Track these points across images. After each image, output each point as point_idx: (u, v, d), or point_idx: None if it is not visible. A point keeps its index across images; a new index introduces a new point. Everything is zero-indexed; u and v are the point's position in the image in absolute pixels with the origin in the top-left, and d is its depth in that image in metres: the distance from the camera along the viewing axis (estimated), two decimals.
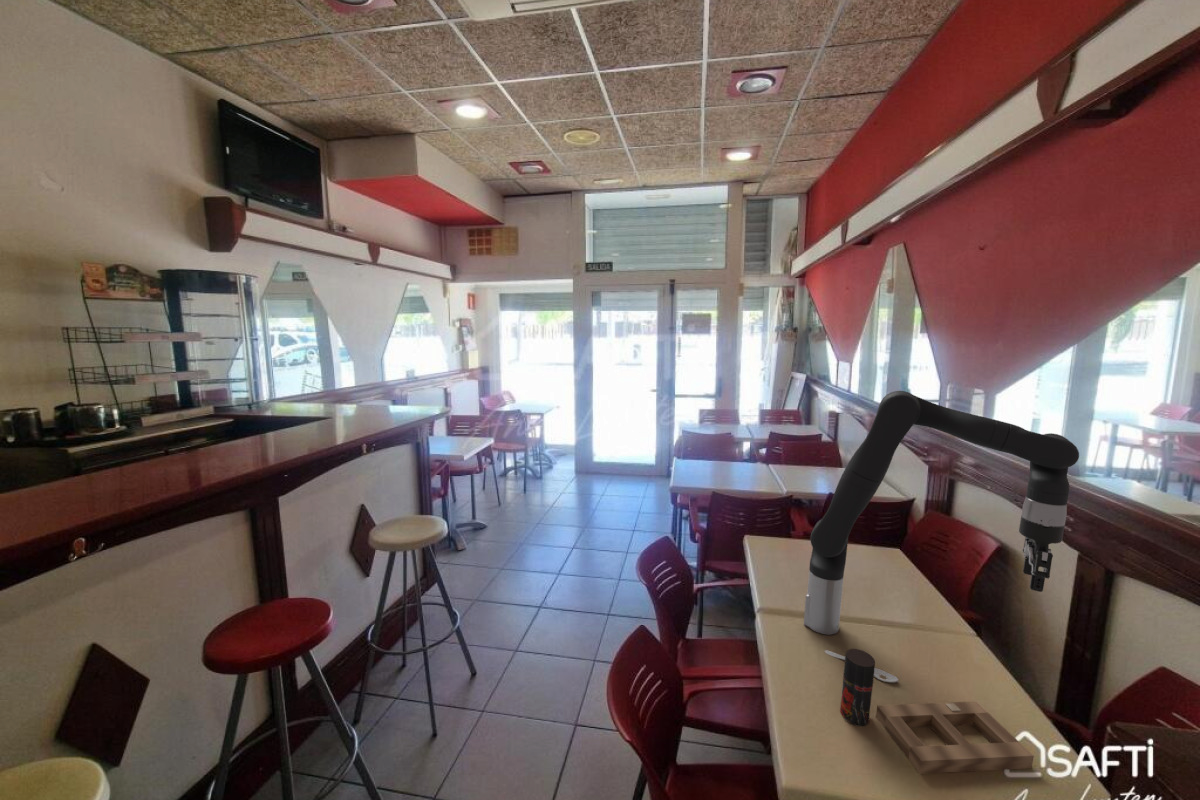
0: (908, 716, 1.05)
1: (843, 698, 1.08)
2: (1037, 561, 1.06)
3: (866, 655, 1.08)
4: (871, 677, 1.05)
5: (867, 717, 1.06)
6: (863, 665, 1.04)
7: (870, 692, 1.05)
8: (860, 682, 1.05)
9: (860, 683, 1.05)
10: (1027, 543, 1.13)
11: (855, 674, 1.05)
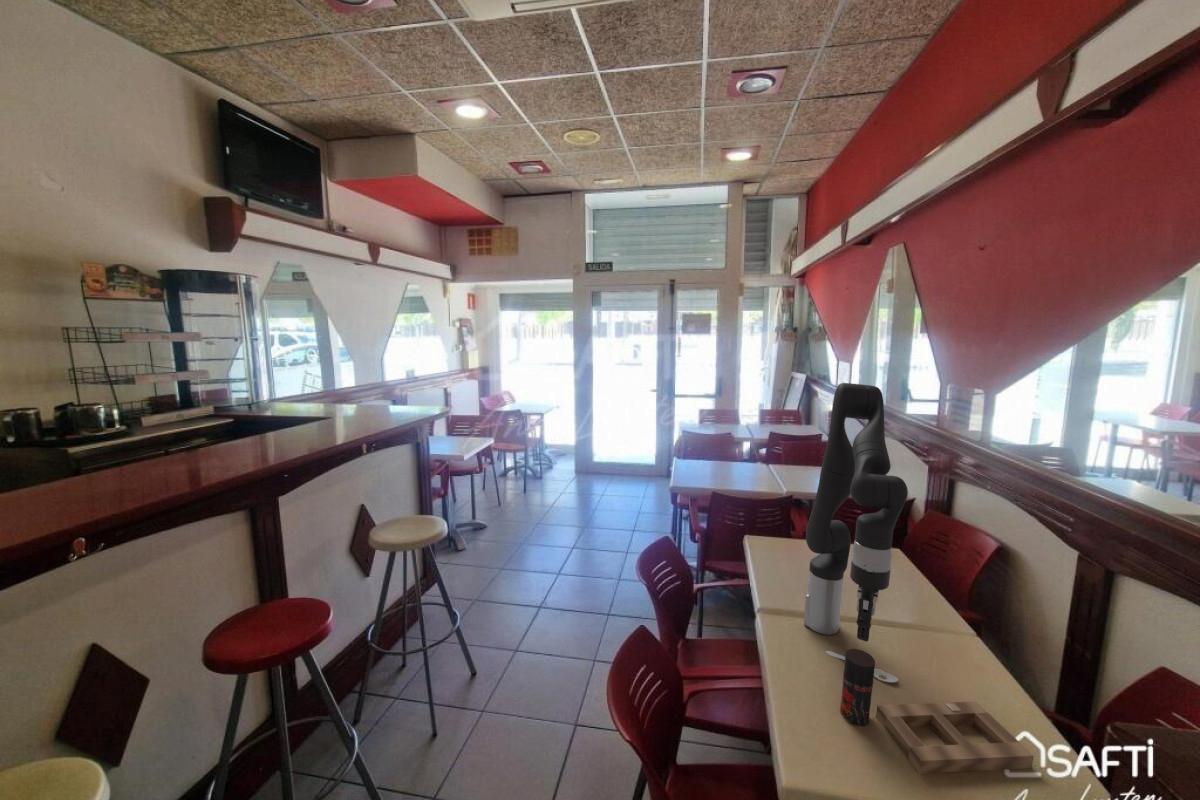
0: (908, 716, 1.05)
1: (843, 698, 1.08)
2: (859, 610, 0.99)
3: (866, 655, 1.08)
4: (871, 677, 1.05)
5: (867, 717, 1.06)
6: (863, 665, 1.04)
7: (870, 692, 1.05)
8: (860, 682, 1.05)
9: (860, 683, 1.05)
10: (859, 587, 1.06)
11: (855, 674, 1.05)
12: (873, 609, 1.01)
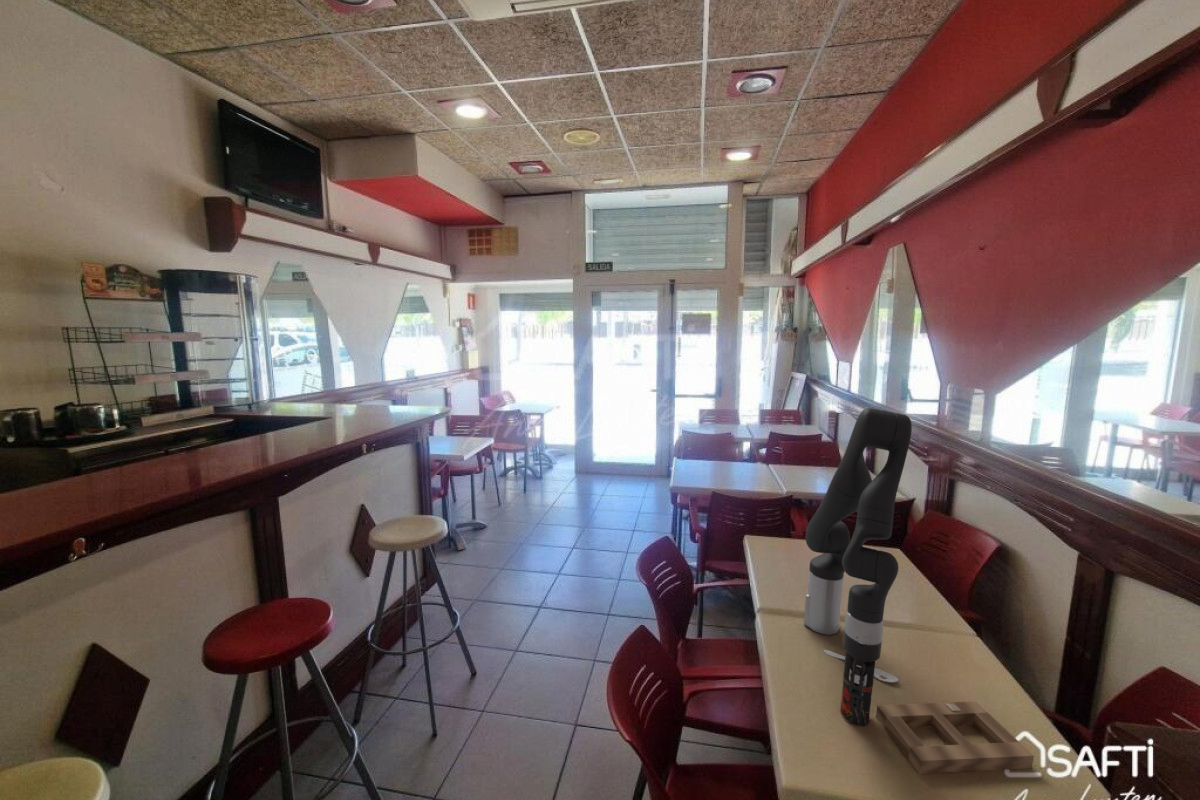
0: (908, 716, 1.05)
1: (843, 698, 1.08)
2: (850, 683, 1.02)
3: None
4: (871, 677, 1.05)
5: (867, 717, 1.06)
6: None
7: (870, 692, 1.05)
8: None
9: None
10: None
11: None
12: (865, 680, 1.04)
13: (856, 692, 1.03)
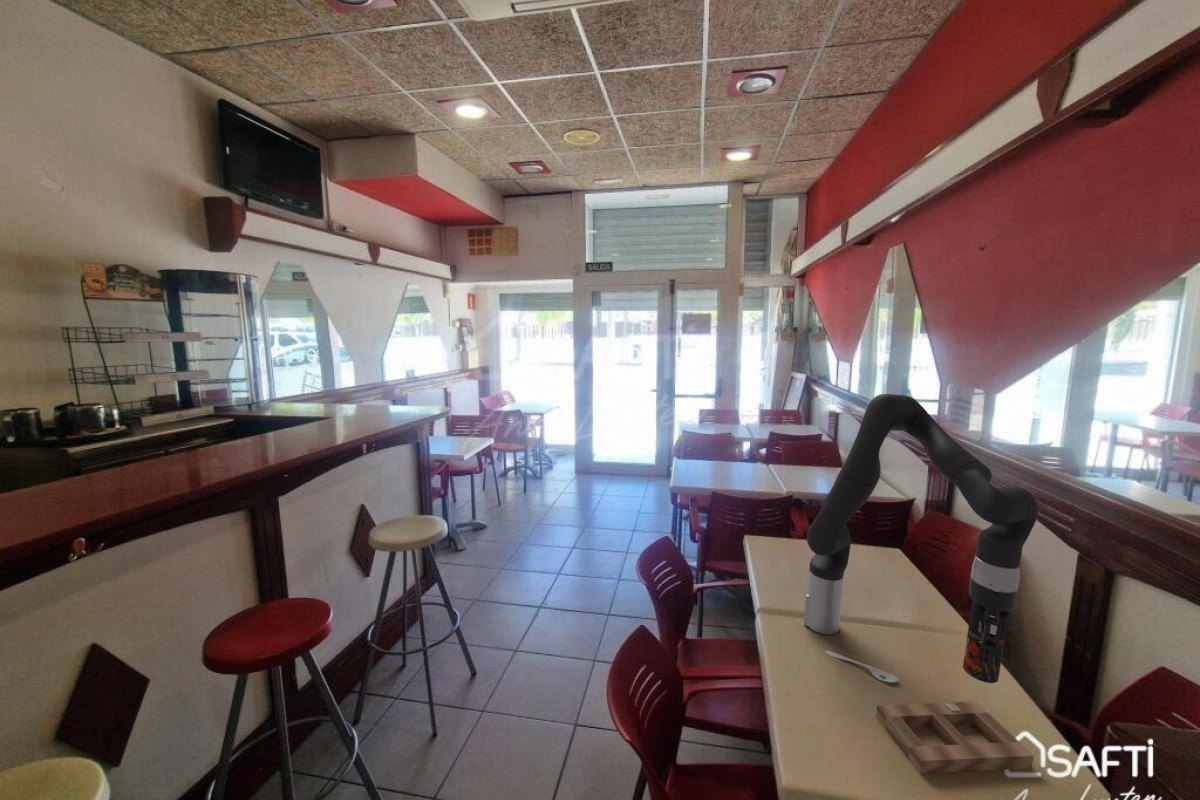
0: (908, 716, 1.05)
1: (969, 653, 0.99)
2: (985, 634, 0.94)
3: None
4: (1004, 629, 0.96)
5: (998, 673, 0.97)
6: None
7: (1002, 646, 0.96)
8: None
9: None
10: None
11: None
12: None
13: (990, 644, 0.94)
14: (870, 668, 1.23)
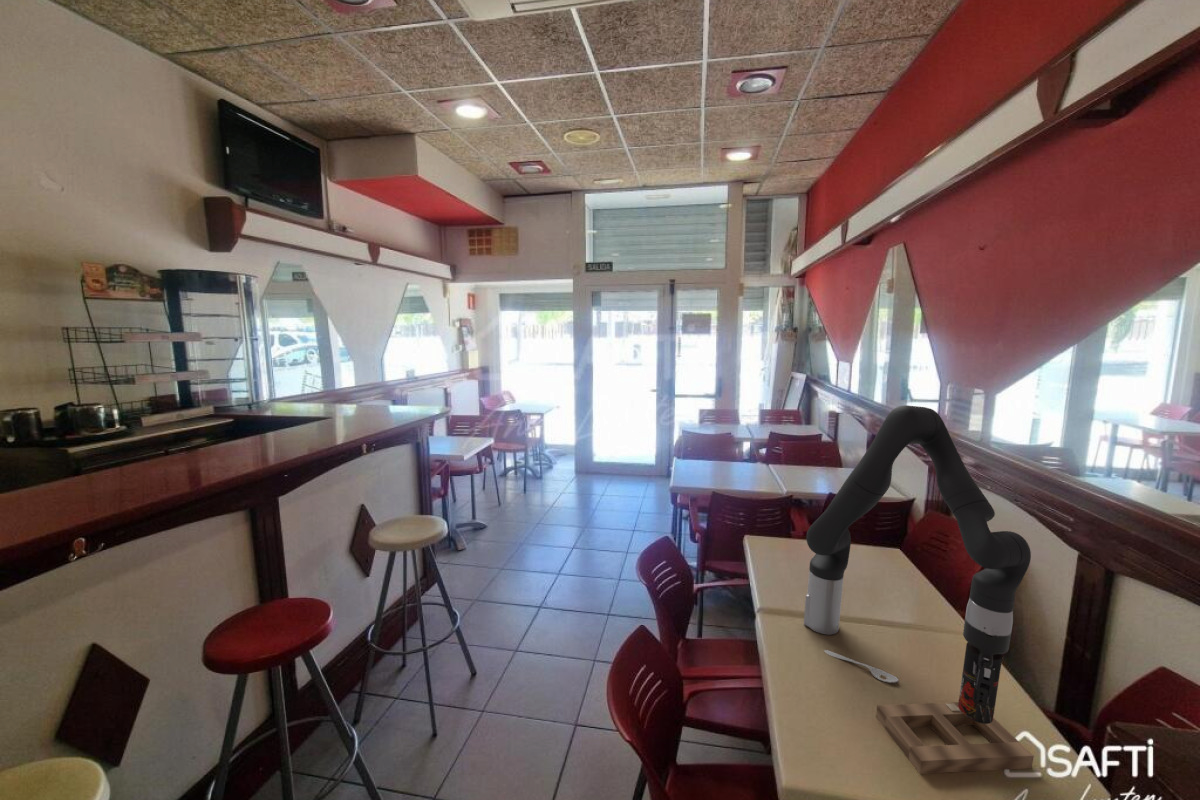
0: (908, 716, 1.05)
1: (964, 693, 1.01)
2: (979, 677, 0.95)
3: None
4: (999, 671, 0.97)
5: (992, 714, 0.99)
6: None
7: (997, 687, 0.98)
8: None
9: None
10: None
11: None
12: None
13: (984, 687, 0.95)
14: (870, 668, 1.23)
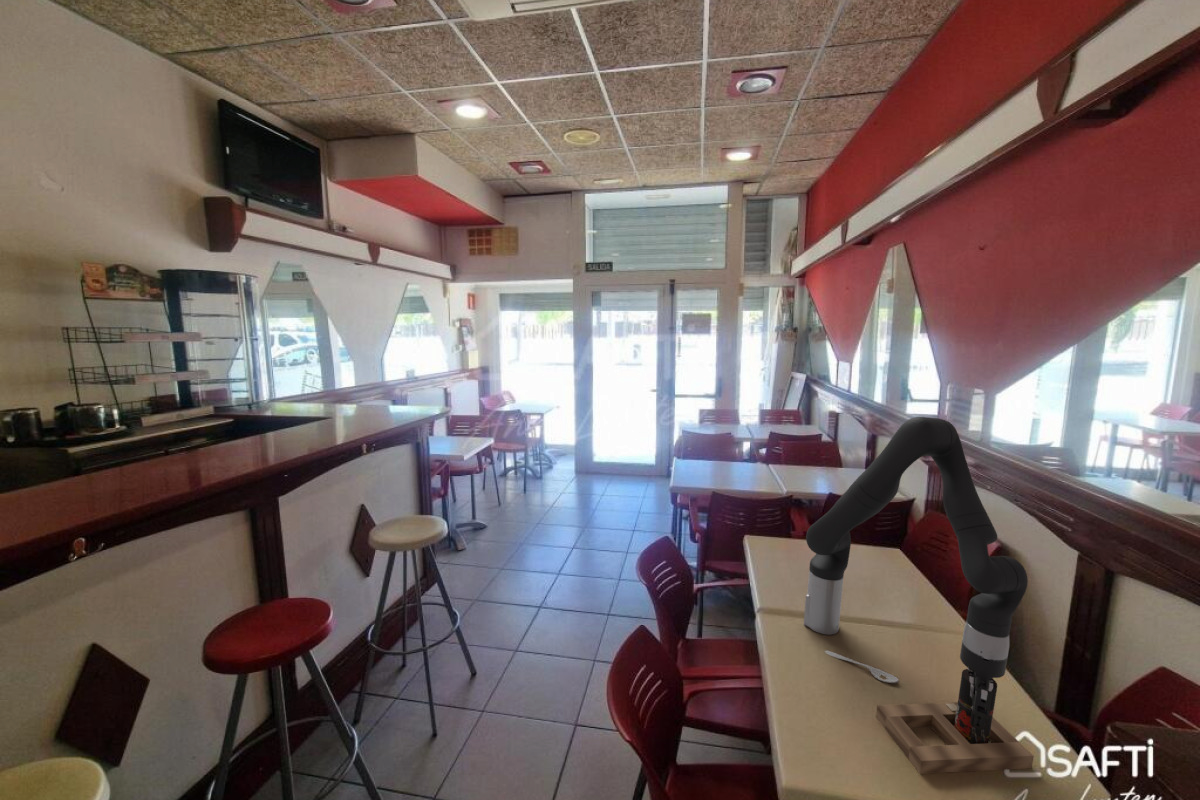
0: (908, 716, 1.05)
1: (959, 721, 1.02)
2: (976, 699, 0.95)
3: None
4: (993, 700, 0.98)
5: (987, 742, 1.00)
6: None
7: (991, 716, 0.99)
8: None
9: None
10: (969, 670, 1.02)
11: None
12: None
13: (982, 711, 0.95)
14: (870, 668, 1.23)
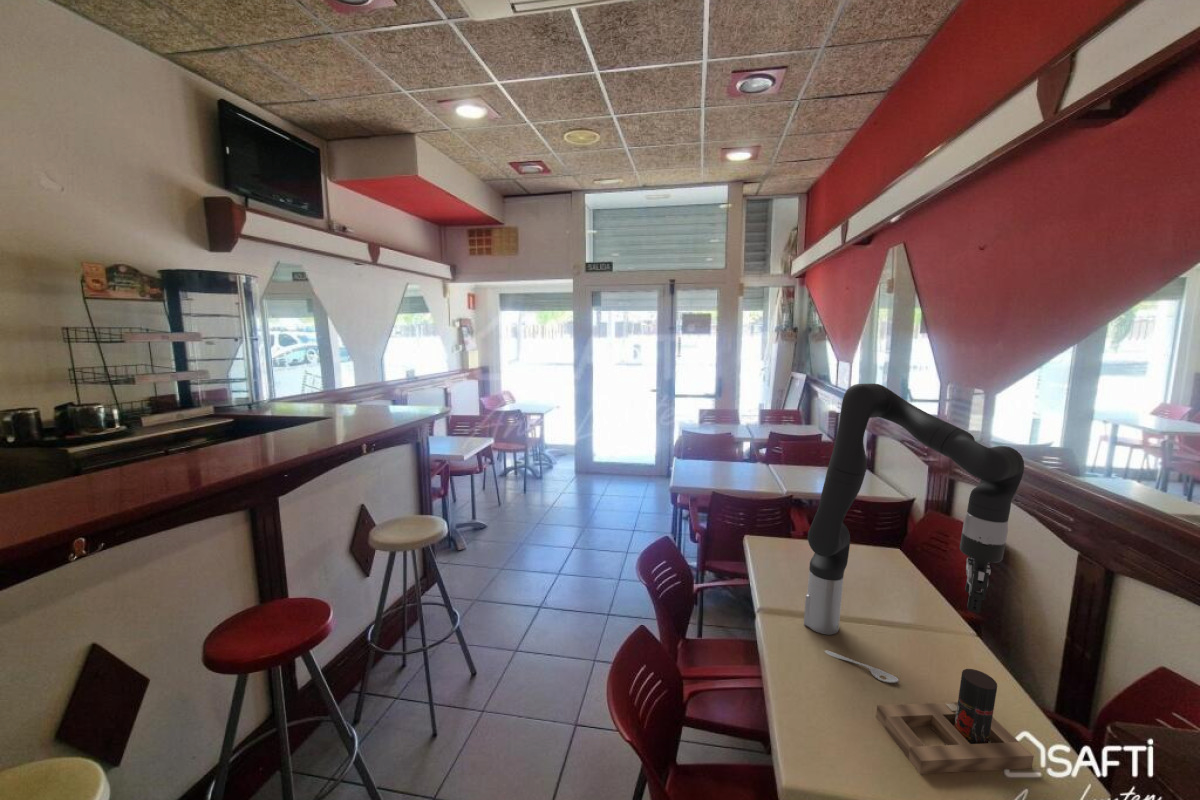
0: (908, 716, 1.05)
1: (959, 721, 1.02)
2: (973, 581, 1.00)
3: (985, 675, 1.01)
4: (993, 700, 0.98)
5: (987, 742, 1.00)
6: (985, 687, 0.98)
7: (991, 716, 0.99)
8: (982, 705, 0.98)
9: (982, 706, 0.98)
10: (968, 560, 1.06)
11: (976, 697, 0.99)
12: None
13: (978, 593, 1.00)
14: (870, 668, 1.23)
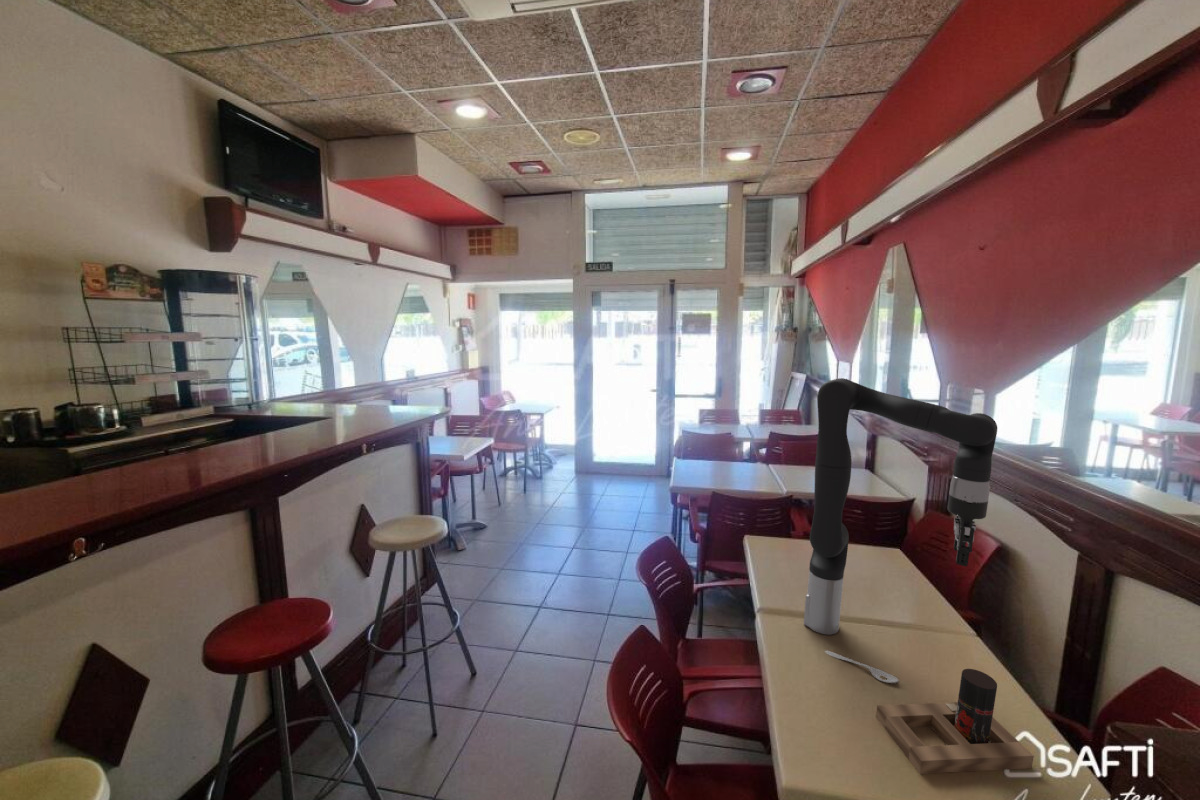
0: (908, 716, 1.05)
1: (959, 721, 1.02)
2: (960, 536, 1.10)
3: (985, 675, 1.01)
4: (993, 700, 0.98)
5: (987, 742, 1.00)
6: (985, 687, 0.98)
7: (991, 716, 0.99)
8: (982, 705, 0.98)
9: (982, 706, 0.98)
10: (955, 520, 1.16)
11: (976, 697, 0.99)
12: None
13: (965, 547, 1.10)
14: (870, 668, 1.23)
